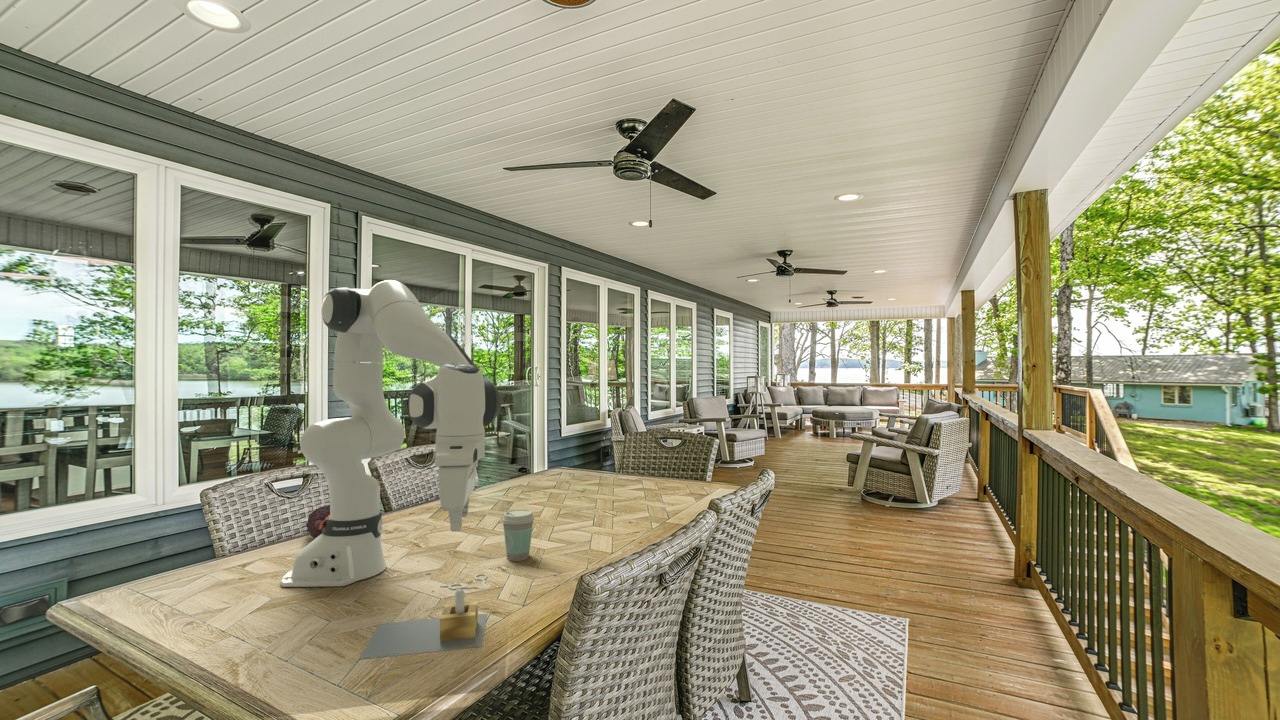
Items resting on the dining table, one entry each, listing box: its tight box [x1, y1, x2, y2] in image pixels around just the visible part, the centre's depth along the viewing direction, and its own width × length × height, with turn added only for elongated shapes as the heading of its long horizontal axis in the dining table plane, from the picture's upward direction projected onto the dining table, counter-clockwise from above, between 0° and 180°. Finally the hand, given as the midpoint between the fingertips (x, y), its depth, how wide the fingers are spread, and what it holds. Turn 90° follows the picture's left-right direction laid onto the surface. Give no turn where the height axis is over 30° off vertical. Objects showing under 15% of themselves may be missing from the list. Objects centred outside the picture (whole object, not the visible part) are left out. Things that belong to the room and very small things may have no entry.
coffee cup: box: [501, 509, 535, 562], centre depth 142 cm, size 8×9×12 cm
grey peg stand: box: [357, 589, 489, 661], centre depth 97 cm, size 20×13×9 cm, turn 102°
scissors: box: [439, 573, 520, 597], centre depth 121 cm, size 11×1×20 cm
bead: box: [439, 600, 479, 641], centre depth 98 cm, size 6×6×4 cm
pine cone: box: [305, 504, 330, 540], centre depth 159 cm, size 18×10×10 cm, turn 50°
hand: (459, 523), depth 98 cm, fingers open, 8 cm apart
